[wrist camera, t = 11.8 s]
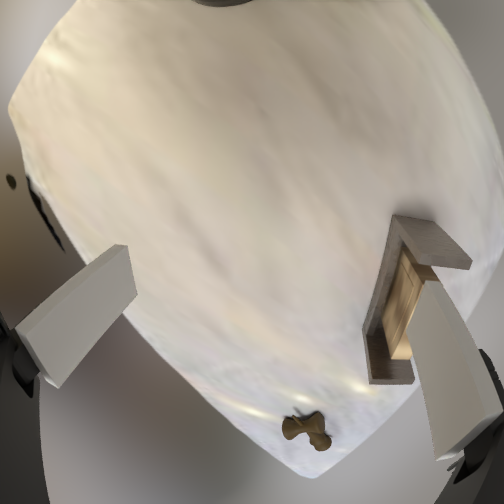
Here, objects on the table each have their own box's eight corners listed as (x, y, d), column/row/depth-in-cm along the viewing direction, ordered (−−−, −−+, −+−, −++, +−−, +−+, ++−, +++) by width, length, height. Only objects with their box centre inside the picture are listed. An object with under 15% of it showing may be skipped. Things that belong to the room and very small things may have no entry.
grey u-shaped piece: (392, 214, 34) (421, 253, 23) (434, 221, 33) (472, 260, 22) (361, 329, 43) (369, 384, 33) (398, 331, 42) (411, 384, 31)
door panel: (399, 246, 35) (421, 284, 26) (418, 249, 34) (444, 286, 26) (379, 314, 40) (390, 359, 31) (397, 315, 40) (410, 359, 31)
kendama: (308, 438, 64) (275, 409, 58) (340, 431, 61) (312, 400, 55) (307, 455, 59) (272, 429, 53) (340, 449, 56) (311, 422, 49)
